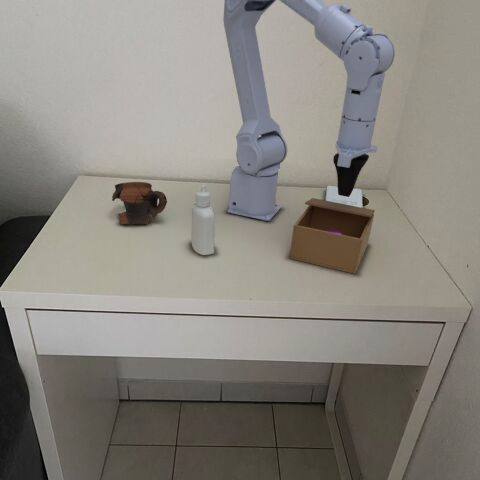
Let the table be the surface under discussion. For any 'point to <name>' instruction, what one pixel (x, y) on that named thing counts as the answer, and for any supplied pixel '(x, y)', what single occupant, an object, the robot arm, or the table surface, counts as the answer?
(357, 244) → the carton
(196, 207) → the eye dropper bottle
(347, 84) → the robot arm
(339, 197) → the hard drive
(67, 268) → the table surface
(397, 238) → the table surface
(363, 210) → the carton flap
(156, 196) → the pottery mug
